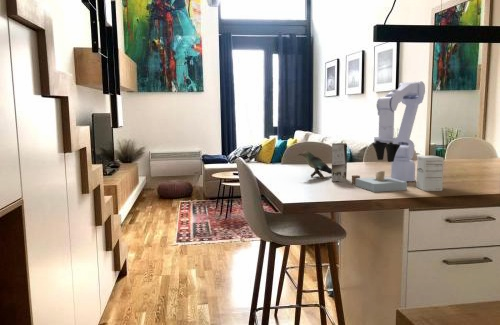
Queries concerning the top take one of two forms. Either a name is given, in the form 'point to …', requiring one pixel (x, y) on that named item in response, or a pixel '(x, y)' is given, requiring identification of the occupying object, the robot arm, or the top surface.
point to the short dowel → (354, 178)
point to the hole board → (381, 184)
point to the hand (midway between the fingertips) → (385, 160)
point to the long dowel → (380, 175)
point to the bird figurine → (316, 164)
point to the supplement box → (430, 173)
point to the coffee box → (339, 162)
